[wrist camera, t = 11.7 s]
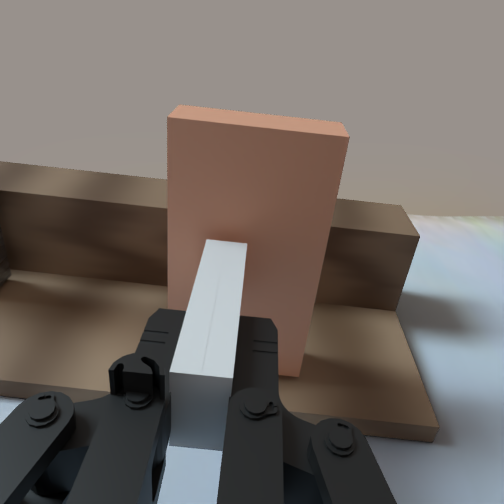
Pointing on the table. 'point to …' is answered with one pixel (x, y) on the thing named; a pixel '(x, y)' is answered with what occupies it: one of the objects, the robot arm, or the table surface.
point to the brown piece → (156, 296)
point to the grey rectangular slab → (3, 261)
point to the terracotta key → (255, 209)
